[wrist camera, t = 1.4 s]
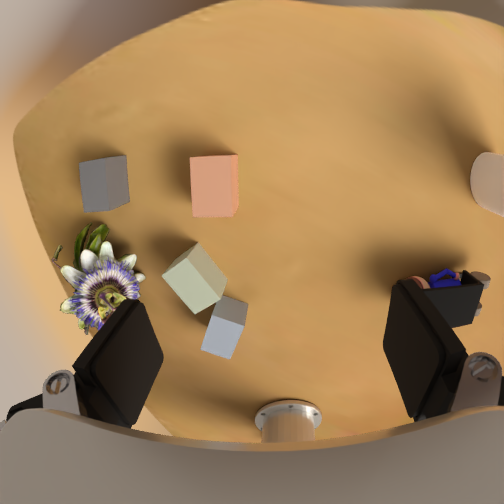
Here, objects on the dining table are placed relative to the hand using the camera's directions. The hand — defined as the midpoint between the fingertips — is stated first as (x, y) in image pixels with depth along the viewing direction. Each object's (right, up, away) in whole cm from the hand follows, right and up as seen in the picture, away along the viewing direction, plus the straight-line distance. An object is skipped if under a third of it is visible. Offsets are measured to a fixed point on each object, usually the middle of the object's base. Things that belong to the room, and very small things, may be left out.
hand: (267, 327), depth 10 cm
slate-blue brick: (-4, -6, +27) cm, 28 cm away
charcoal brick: (-18, +12, +22) cm, 31 cm away
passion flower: (-20, 0, +27) cm, 34 cm away
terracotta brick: (-4, +11, +21) cm, 24 cm away
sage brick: (-7, +1, +25) cm, 26 cm away
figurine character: (+26, -2, +23) cm, 35 cm away
